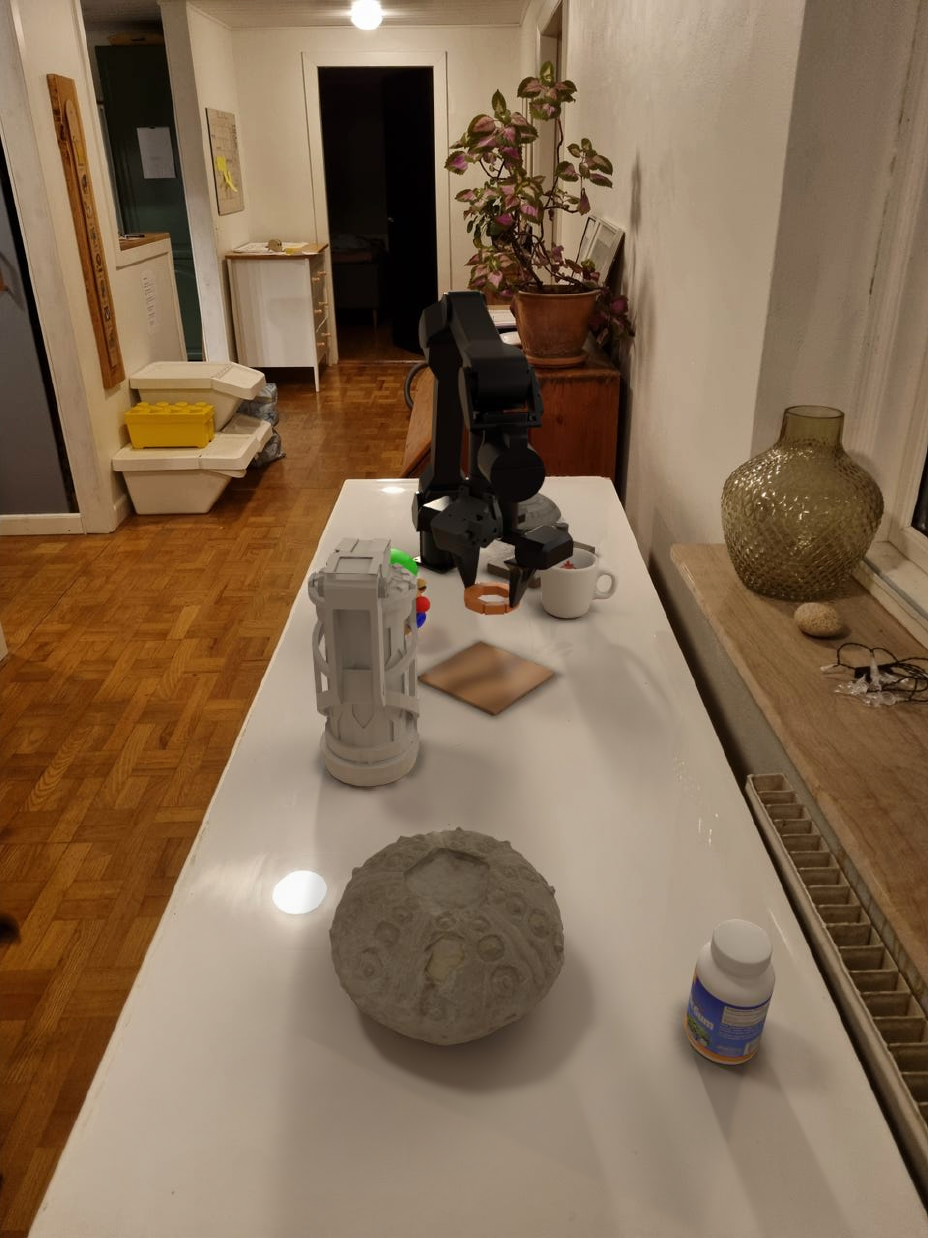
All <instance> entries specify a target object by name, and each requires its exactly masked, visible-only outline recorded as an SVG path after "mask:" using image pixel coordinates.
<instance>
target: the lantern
mask: <svg viewBox="0 0 928 1238" xmlns="http://www.w3.org/2000/svg"><path fill="white" fill-rule="evenodd" d="M391 540H392V539H391V538H374V539H360V538H359V537H343V538H342V539H341V540H340V541H339V543H337V545H336V546H335V548H334V550H333V552H332V553H330V554H329V555H328V557H327V560H326V562H325V566H324V567H322V568H320V569H319V570H318V572H317V571H314V572H312V573H310V575H309V577H308V579H307V594H308V599H309V600H310V601H311V602H312V604H313V605H314V606H315V613H316V617H317V621H316V623H315V625H314V628H313V631H312V635H311V636H312V637H311V639H312V640H311V645H312V646H311V648H312V659H313V660H312V662H313V672H314V686H315V700H316V711H317V713H319V714H320V715H321V716H324V717H326V721H325V723H324V731H323V732H322V734H321V735H320V738H319V748H320V752H321V756H322V760H323V763H324V765H325V767H326V769H327V771H328V773H329V774H330V775H332V777H333V778H335V779H336V780H339V782H341V783H344V784H348V785H351V786H355V787H368V788H369V787H376V786H384V785H387V784H391V783H394V782H396V781H398V780H400V779H401V778H403V777H404V776H406V775H408V774H409V773H410V771H411V770H412V768H413V767H414V766H415V763H416V760H417V757H418V753H419V751H420V742H421V739H420V738H421V737H420V733H419V730H418V719H419V718H420V699H419V698H418V646H419V628H418V627H417V623H416V594H417V578H418V575H417V576H415V575H414V574H412V573H411V572H410V571H409V570H408V569H405V568H403V566H402V565H401V564H398V563H394V565H393V564H390V558H391V549H392V545H391V544H392V543H391V542H392V541H391ZM405 620H406V622H407V623H408V625H409V627H410V630H411V632H410V634H411V640H410V644H409V647H408V648H407V639H406V635H405ZM323 637H324V654H325V655H324V656H325V658H324V657H323V654H322V652H321V649H320V644H321V642H322V639H323ZM407 671H408V672H407ZM322 675H323V676H325V677H326V682H327V690H323V681H322Z"/></svg>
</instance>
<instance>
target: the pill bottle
mask: <svg viewBox="0 0 928 1238" xmlns="http://www.w3.org/2000/svg"><path fill="white" fill-rule="evenodd" d="M772 955H773V943H772V940H771V938H770V936H769V935H768V933H767V932H766V931H765V930H764V929H763V928H761V927H759V926H758V925H757V924H755V923H753V922H750V921H748V920H744V919H739V918H736V919H735V918H734V919H727V920H724V921H722V922H720V923H719V924H717V926H715V928H714V930H713V933H712V937H711V940H710V941H709V942H707V943H705V944H704V945H703V946H702V947H701V949H700V951H699V952H698V956H697V958H696V961H695V968H694V972H693V976H692V983H691V987H690V992H689V997H688V1002H687V1008H686V1014H685V1019H684V1028H685V1034H686V1037H687V1039H688V1041H689V1043H690V1044H691V1046H692V1047H693V1048H694V1049H695V1050H696V1051H697V1052H698V1053H699V1054H700V1055H702V1056H703V1057H705V1058H706V1059H708V1060H710V1061H713V1062H715V1063H719V1064H724V1065H730V1066H731V1065H740V1064H743V1063H746V1062H748V1061H749V1060H750V1059H752V1058H753V1057H754V1056H755V1055H756V1053H757V1052H758V1049H759V1046H760V1043H761V1039H762V1035H763V1031H764V1027H765V1023H766V1021H767V1020H766V1019H767V1015H768V1013H769V1008H770V1004H771V1001H772V997H773V994H774V989H775V985H776V971H775V967H774V965H773V963H772Z"/></svg>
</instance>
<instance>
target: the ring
mask: <svg viewBox="0 0 928 1238" xmlns="http://www.w3.org/2000/svg"><path fill="white" fill-rule="evenodd" d="M482 596H483V597H484V596H499V597H502V598H504V599H502V600H491V601H487V600H483V599H481V598H480V597H482ZM463 601H464V605H465V606H464V607H465V608H466V609H467V610H469V611H472V612H474V613H476V614H479V615H485V616H497V615H498V616H500V615H502V616H503V615H505V614H509V613H511V612H513V611H515V610H517V609H518V608H519V607H520V605H521V601H520V602H519V604H518V606H516V607H515V608H510V604H509V584H507V583H504V582H499V581H490V582H489V581H485V582H482V581H481V582H479V583H478V582H475V584H474V585H472V586H470V587H468V588H466V589H465V588H464V590H463Z"/></svg>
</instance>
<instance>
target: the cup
mask: <svg viewBox="0 0 928 1238" xmlns="http://www.w3.org/2000/svg"><path fill="white" fill-rule="evenodd" d="M602 576H608V577H610V580H611V584H610V586H609V588H608V589H607V590H606V591H602V590H600V589H598V586H597V584H598V581H599V579H600V578H601V577H602ZM540 577H541V585H540V591H541V592H540V593H541V603H542V607H543V609H544V610H545V612H546V613H547V614H550V615H551V616H554V617H556V618H562V619H574V618H578V617H581V616H583V615H585V614H586V613H587V612H588V611H589V609H590V606H591V603H592V602H593V601H595V600H608V599H610V598H612V597H613V596H614V595H615V593H616V591H617V590H618V589H617V588H618V584H619V583H618V582H619V581H618V575H617V573H616V570H615V569H613V568H611V567H609V566H606V565H601V564H600V563H599V558H598V557H597V556H596V554H595V555H594V554H593V553H591V552H589V551H586V550H583V549H579V548H573V556H572V557H570V558H568V559H566V560H564V561H562V562H560V563H558V564H557V565H555V566H553V567H551V568H549V569H547V570H540Z"/></svg>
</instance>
